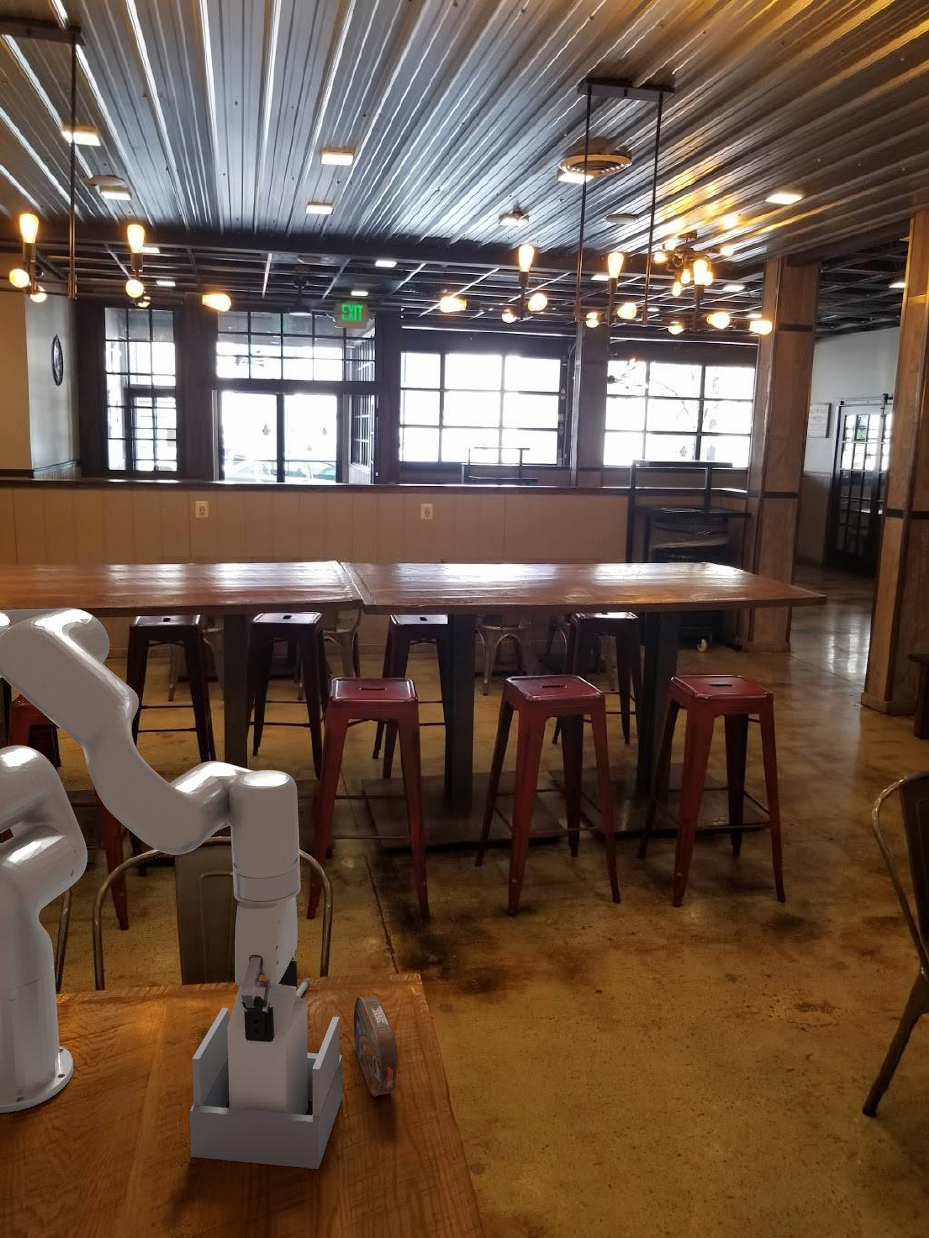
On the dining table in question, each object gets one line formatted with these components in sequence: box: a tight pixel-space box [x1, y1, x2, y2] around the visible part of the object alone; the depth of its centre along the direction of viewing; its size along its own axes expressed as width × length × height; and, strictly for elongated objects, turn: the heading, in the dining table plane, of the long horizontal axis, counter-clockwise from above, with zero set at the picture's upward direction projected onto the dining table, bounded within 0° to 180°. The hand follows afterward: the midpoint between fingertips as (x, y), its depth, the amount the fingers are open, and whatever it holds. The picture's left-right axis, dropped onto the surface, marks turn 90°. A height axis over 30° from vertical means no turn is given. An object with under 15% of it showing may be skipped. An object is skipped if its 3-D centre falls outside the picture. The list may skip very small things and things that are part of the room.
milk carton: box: [227, 984, 309, 1115], centre depth 114 cm, size 7×7×19 cm
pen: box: [296, 977, 311, 998], centre depth 140 cm, size 1×14×1 cm, turn 169°
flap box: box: [189, 1007, 343, 1170], centre depth 115 cm, size 15×12×12 cm
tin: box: [353, 995, 399, 1097], centre depth 126 cm, size 15×3×8 cm, turn 18°
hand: (272, 1014), depth 113 cm, fingers open, 9 cm apart
